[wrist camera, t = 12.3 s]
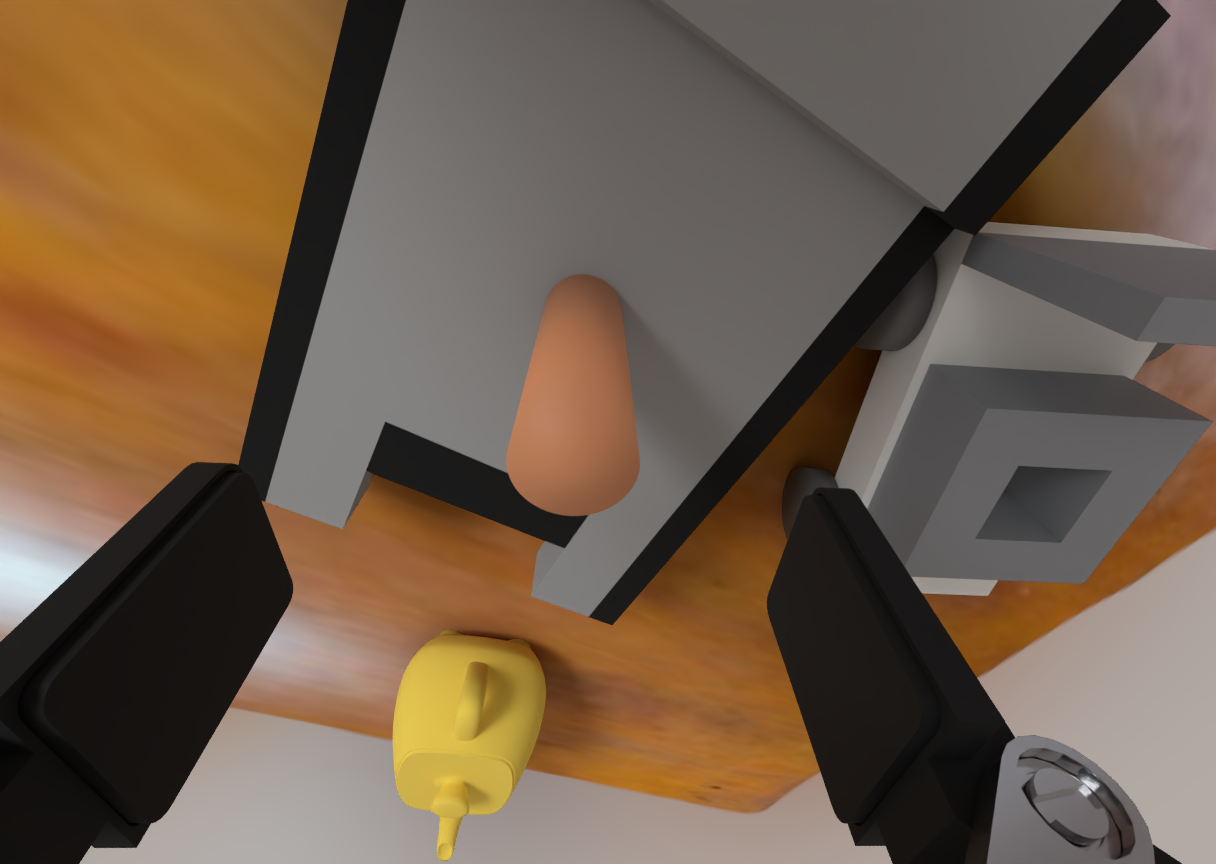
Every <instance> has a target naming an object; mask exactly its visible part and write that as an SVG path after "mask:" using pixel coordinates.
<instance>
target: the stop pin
mask: <svg viewBox="0 0 1216 864" xmlns="http://www.w3.org/2000/svg"><path fill="white" fill-rule="evenodd" d="M506 464H507V471H508V474H509V477H510V479H511V482H512V483H513V485H514V487H515V488H516V489H517V491H518V492H519V493H520V494H521V495H522V496H523V497H524V498H525V499H526V500H527V501H529V502H530V503H532V504H533V505H535V506H537V507H538V508H541V509H543V510H545V511H548V512H551V513H554V514H559V515H566V516H583V515H590V514H595V513H598V512H601V511H604V510H606V509H608V508H610V507H612V506H614V505H615V504H617V503H618V502H620V501H621V500H622V499H623V498H624V497H625V496H626V495H627V494H628V493H629V492H630V490H631V489H632V488H633V486H634V484H635V482H636V480H637V477H638V474H639V469H640V457H639V449H638V440H637V432H636V424H635V415H634V407H633V399H632V390H631V382H630V374H629V365H628V357H627V349H626V340H625V332H624V324H623V315H622V307H621V303H620V300H619V297H618V295H617V293H616V292H615V291H614V289H613V288H612V287H611V286H610V285H609V284H608V283H607V282H605V281H604V280H602V279H600V278H598V277H595V276H592V275H586V274H579V275H573V276H570V277H567V278H565V279H563V280H561V281H560V282H559V283H557V284H556V285H555V286H554V287H553V288H552V290H551V291H550V293H549V294H548V296H547V299H546V302H545V306H544V310H543V314H542V318H541V321H540V325H539V329H538V333H537V337H536V341H535V345H534V349H533V353H532V357H531V360H530V364H529V368H528V372H527V376H526V380H525V384H524V388H523V392H522V396H521V399H520V403H519V407H518V411H517V415H516V419H515V423H514V427H513V431H512V435H511V439H510V442H509V446H508V451H507V457H506Z"/></svg>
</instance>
